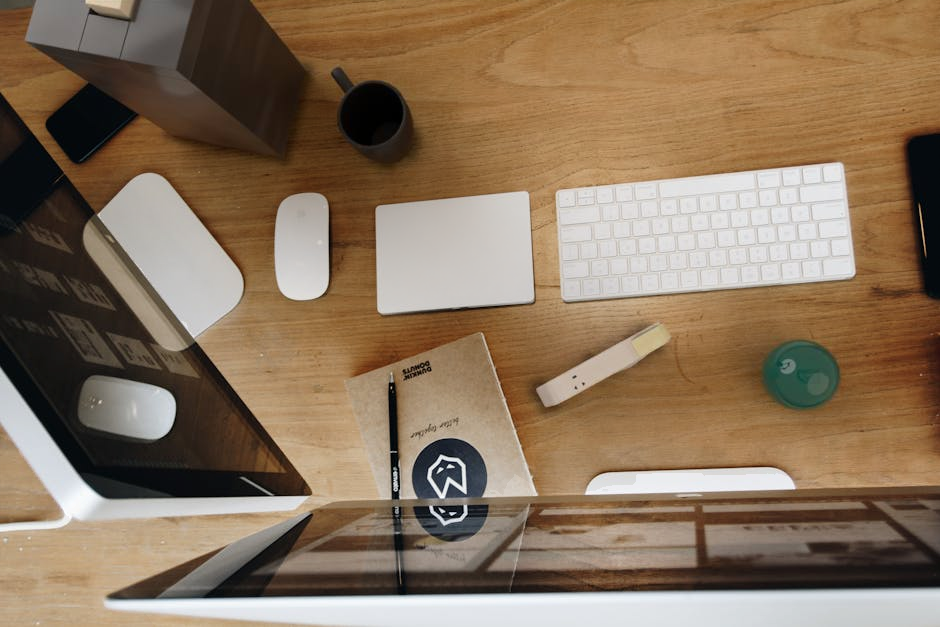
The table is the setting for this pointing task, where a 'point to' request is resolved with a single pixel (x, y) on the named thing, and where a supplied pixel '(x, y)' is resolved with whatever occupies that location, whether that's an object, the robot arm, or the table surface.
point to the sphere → (800, 375)
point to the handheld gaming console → (603, 365)
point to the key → (113, 8)
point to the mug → (374, 119)
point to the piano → (182, 66)
